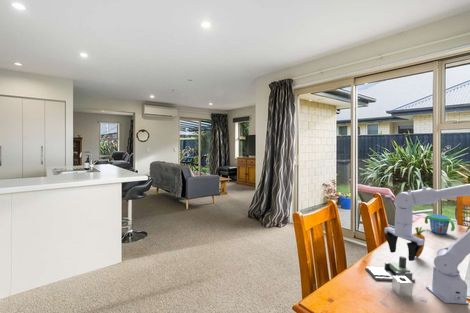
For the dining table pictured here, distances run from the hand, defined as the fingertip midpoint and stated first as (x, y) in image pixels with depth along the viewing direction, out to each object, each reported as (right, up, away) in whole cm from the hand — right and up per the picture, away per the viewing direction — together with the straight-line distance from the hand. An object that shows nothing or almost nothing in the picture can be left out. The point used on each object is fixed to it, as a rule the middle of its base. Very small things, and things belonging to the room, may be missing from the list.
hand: (401, 256), depth 99 cm
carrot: (+21, -9, +20) cm, 31 cm away
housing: (-6, -10, -8) cm, 14 cm away
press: (-4, -9, +4) cm, 11 cm away
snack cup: (+60, -8, +55) cm, 82 cm away
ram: (+1, -8, +3) cm, 8 cm away
